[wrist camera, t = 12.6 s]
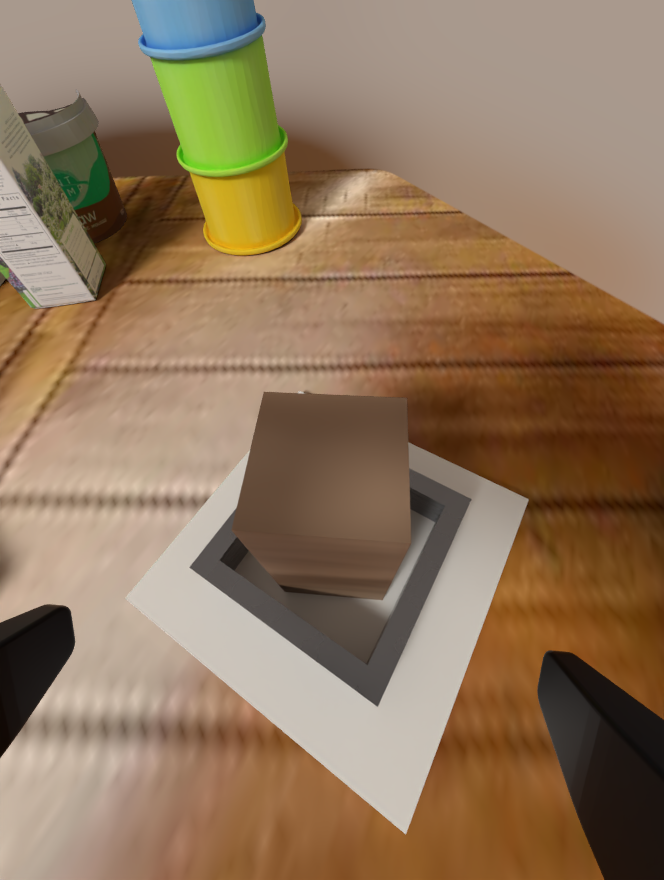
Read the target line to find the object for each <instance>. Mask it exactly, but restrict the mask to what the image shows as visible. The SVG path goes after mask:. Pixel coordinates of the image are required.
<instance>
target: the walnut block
mask: <svg viewBox="0 0 664 880" xmlns="http://www.w3.org/2000/svg"><path fill="white" fill-rule="evenodd" d="M231 530H232V532H233V533H234V534H235V535H236V536H237V537H238V538H239V540H240V541H241V542H242V543H243V544H244V545H245V547H246V548H247V549H248V550H249V551H250V552H251V553H252V555H253V556H254V557H255V558H256V559H257V560H258V562H259V563H260V564H261V565H262V566H263V567H264V568H265V570H266V571H267V572H268V573H269V574H270V575H271V577H272V578H273V579H274V580H275V581H276V582H277V583H278V585H279V586H280V587H281V588H282V589H283V590H284V592H292V593H304V594H315V595H327V596H339V597H350V598H362V599H374V600H383V598H384V596H385V594H386V592H387V590H388V588H389V586H390V584H391V582H392V580H393V579H394V577H395V575H396V573H397V571H398V569H399V567H400V565H401V563H402V561H403V559H404V557H405V555H406V553H407V551H408V549H409V547H410V545H411V517H410V483H409V448H408V414H407V398H398V397H374V396H350V395H326V394H302V393H278V392H264V394H263V398H262V402H261V406H260V411H259V415H258V419H257V423H256V428H255V432H254V436H253V440H252V445H251V449H250V453H249V457H248V462H247V466H246V470H245V474H244V479H243V483H242V487H241V491H240V496H239V500H238V504H237V508H236V512H235V517H234V521H233V525H232V529H231Z"/></svg>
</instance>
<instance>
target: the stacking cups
mask: <svg viewBox="0 0 664 880" xmlns="http://www.w3.org/2000/svg"><path fill="white" fill-rule="evenodd" d="M132 3H133V6H134V8H135V11H136V14H137V17H138V20H139V23H140V26H141V29H142V32H143V35H142V36H141V37H140V38H139V42H138V44H139V46H140V49H141V51H142V52H143V53H144V54H146V55H147V56H149V57H150V58H151V61H152V63H153V67H154V70H155V73H156V76H157V78H158V81H159V84H160V87H161V90H162V93H163V96H164V98H165V101H166V104H167V107H168V110H169V113H170V116H171V118H172V121H173V124H174V127H175V130H176V133H177V136H178V138H179V141H180V146H179V148H178V150H177V159H178V161H179V163H180V165H181V166H182V167H183V168H184V169H185V170H187V171H189V172H190V175H191V178H192V181H193V184H194V187H195V190H196V193H197V196H198V199H199V201H200V204H201V207H202V210H203V213H204V216H205V219H206V222H205V224H204V228H203V234H204V237H205V239H206V241H207V242H208V244H209V245H210V246H211V247H213V248H214V249H216V250H218V251H220V252H223V253H226V254H231V255H254V254H260V253H264V252H268V251H271V250H273V249H276V248H278V247H280V246H282V245H284V244H285V243H287V242H288V241H289V240H291V239H292V238H293V237H294V236H295V235H296V233H297V232H298V230H299V229H300V226H301V221H302V218H301V213H300V211H299V209H298V208H297V207H296V205H295V204H293V203H292V197H291V191H290V185H289V179H288V172H287V166H286V160H285V154H284V151H285V149H286V147H287V143H288V137H287V134H286V132H285V131H284V129H283V128H281V127H280V126H279V125H278V124H277V118H276V113H275V107H274V101H273V95H272V90H271V84H270V78H269V72H268V66H267V60H266V55H265V49H264V43H263V37H262V34H263V32H264V30H265V27H266V25H265V19H264V17H263V16H262V15H260V14H258V13H256V11H255V6H254V1H253V0H132Z"/></svg>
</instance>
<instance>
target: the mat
mask: <svg viewBox="0 0 664 880" xmlns="http://www.w3.org/2000/svg"><path fill="white" fill-rule="evenodd" d="M298 393H302V394H305V393H303V392H301V391H299V392H298ZM408 448H409V468H410V469H412V470H414V471H416V472H418V473H420V474H422V475H424V476H426V477H428V478H430V479H432V480H434V481H436V482H438V483H440V484H442V485H444V486H446V487H448V488H450V489H452V490H454V491H456V492H458V493H460V494H462V495H464V496H466V497H468V498H470V499H472V500H471V502H470V504H469V506H468V508H467V511H466V513H465V515H464V517H463V520H462V522H461V524H460V526H459V528H458V531H457V533H456V535H455V537H454V539H453V542H452V544H451V546H450V548H449V551H448V553H447V555H446V557H445V559H444V562H443V564H442V566H441V568H440V570H439V573H438V575H437V577H436V579H435V582H434V584H433V586H432V588H431V590H430V593H429V595H428V597H427V599H426V601H425V604H424V606H423V608H422V610H421V612H420V615H419V617H418V619H417V621H416V624H415V626H414V628H413V630H412V632H411V635H410V637H409V639H408V641H407V643H406V646H405V648H404V650H403V652H402V655H401V657H400V659H399V661H398V663H397V666H396V668H395V670H394V672H393V674H392V677H391V679H390V681H389V683H388V686H387V688H386V690H385V692H384V694H383V697H382V699H381V701H380V703H379V705H378V707H377V706H376V705H374V704H373V703H372V702H370V701H369V700H368V699H366V698H365V697H363V696H362V695H361V694H359V693H358V692H357V691H355V690H354V689H353V688H351V687H350V686H349V685H347V684H346V683H345V682H343V681H342V680H341V679H339V678H338V677H336V676H335V675H334V674H332V673H331V672H330V671H328V670H327V669H326V668H324V667H323V666H322V665H320V664H319V663H318V662H316V661H315V660H314V659H312V658H311V657H309V656H308V655H307V654H305V653H304V652H303V651H301V650H300V649H299V648H297V647H296V646H295V645H293V644H292V643H291V642H289V641H288V640H286V639H285V638H284V637H282V636H281V635H280V634H278V633H277V632H276V631H274V630H273V629H272V628H270V627H269V626H268V625H266V624H265V623H264V622H262V621H261V620H259V619H258V618H257V617H255V616H254V615H253V614H251V613H250V612H249V611H247V610H246V609H245V608H243V607H242V606H241V605H239V604H238V603H237V602H235V601H234V600H232V599H231V598H230V597H228V596H227V595H226V594H224V593H223V592H222V591H220V590H219V589H218V588H216V587H215V586H214V585H212V584H211V583H210V582H208V581H207V580H205V579H204V578H203V577H201V576H200V575H199V574H197V573H196V572H195V571H193V570H192V569H191V568H189V567H190V566H191V565H192V563H193V562H194V561H195V560H196V558H197V557H198V556H199V554H200V553H201V552H202V551H203V549H204V548H205V547H206V546H207V544H208V543H209V542H210V541H211V539H212V538H213V537H214V535H215V534H216V533H217V532H218V530H219V529H220V528H221V527H222V525H223V524H224V523H225V522H226V520H227V519H228V518H229V516H230V515H231V514H232V513H233V511H234V510H235V509H236V508H237V504H238V500H239V496H240V491H241V487H242V483H243V479H244V474H245V470H246V466H247V462H248V457H249V453H250V450H249V451H248V453H247V454H246V455H245V456H244V457H243V459H242V460H241V461H240V462H239V463H238V465H237V466H236V467H235V468H234V469H233V470H232V472H231V473H230V474H229V475H228V476H227V478H226V479H225V480H224V481H223V482H222V484H221V485H220V486H219V487H218V488H217V490H216V491H215V492H214V493H213V494H212V495H211V497H210V498H209V499H208V500H207V501H206V503H205V504H204V505H203V506H202V507H201V509H200V510H199V511H198V512H197V513H196V514H195V516H194V517H193V518H192V519H191V520H190V522H189V523H188V524H187V525H186V526H185V528H184V529H183V530H182V531H181V532H180V534H179V535H178V536H177V537H176V538H175V539H174V541H173V542H172V543H171V544H170V545H169V547H168V548H167V549H166V550H165V551H164V553H163V554H162V555H161V556H160V557H159V558H158V560H157V561H156V562H155V563H154V564H153V566H152V567H151V568H150V569H149V570H148V572H147V573H146V574H145V575H144V576H143V578H142V579H141V580H140V581H139V582H138V583H137V585H136V586H135V587H134V588H133V589H132V591H131V592H130V593H129V594H128V595H127V597H126V598H125V599H126V600H127V601H128V602H130V603H131V604H132V605H133V606H134V607H136V608H137V609H138V610H139V611H140V612H142V613H143V614H144V615H145V616H146V617H147V618H149V619H150V620H151V621H152V622H153V623H155V624H156V625H157V626H158V627H159V628H161V629H162V630H163V631H164V632H165V633H167V634H168V635H169V636H170V637H171V638H172V639H174V640H175V641H176V642H177V643H178V644H180V645H181V646H182V647H183V648H184V649H186V650H187V651H188V652H189V653H190V654H192V655H193V656H194V657H195V658H196V659H197V660H199V661H200V662H201V663H202V664H203V665H205V666H206V667H207V668H208V669H209V670H211V671H212V672H213V673H214V674H215V675H217V676H218V677H219V678H220V679H221V680H223V681H224V682H225V683H226V684H227V685H228V686H230V687H231V688H232V689H233V690H234V691H236V692H237V693H238V694H239V695H240V696H242V697H243V698H244V699H245V700H246V701H248V702H249V703H250V704H251V705H252V706H253V707H255V708H256V709H257V710H258V711H259V712H261V713H262V714H263V715H264V716H265V717H267V718H268V719H269V720H270V721H271V722H273V723H274V724H275V725H276V726H277V727H278V728H280V729H281V730H282V731H283V732H284V733H286V734H287V735H288V736H289V737H290V738H292V739H293V740H294V741H295V742H296V743H298V744H299V745H300V746H301V747H302V748H303V749H305V750H306V751H307V752H308V753H309V754H311V755H312V756H313V757H314V758H315V759H317V760H318V761H319V762H320V763H321V764H323V765H324V766H325V767H326V768H327V769H328V770H330V771H331V772H332V773H333V774H334V775H336V776H337V777H338V778H339V779H340V780H342V781H343V782H344V783H345V784H346V785H348V786H349V787H350V788H351V789H352V790H353V791H355V792H356V793H357V794H358V795H359V796H361V797H362V798H363V799H364V800H365V801H367V802H368V803H369V804H370V805H371V806H373V807H374V808H375V809H376V810H377V811H378V812H380V813H381V814H382V815H383V816H384V817H386V818H387V819H388V820H389V821H390V822H392V823H393V824H394V825H395V826H396V827H398V828H399V829H400V830H401V831H402V832H403V833H405V834H406V833H407V830H408V827H409V824H410V822H411V819H412V816H413V813H414V811H415V808H416V805H417V803H418V800H419V797H420V794H421V792H422V789H423V786H424V784H425V781H426V778H427V775H428V773H429V770H430V767H431V764H432V762H433V759H434V756H435V754H436V751H437V748H438V745H439V743H440V740H441V737H442V734H443V732H444V729H445V726H446V724H447V721H448V718H449V715H450V713H451V710H452V707H453V705H454V702H455V699H456V696H457V694H458V691H459V688H460V685H461V683H462V680H463V677H464V675H465V672H466V669H467V666H468V664H469V661H470V658H471V656H472V653H473V650H474V647H475V645H476V642H477V639H478V636H479V634H480V631H481V628H482V626H483V623H484V620H485V617H486V615H487V612H488V609H489V607H490V604H491V601H492V598H493V596H494V593H495V590H496V587H497V585H498V582H499V579H500V577H501V574H502V571H503V568H504V566H505V563H506V560H507V558H508V555H509V552H510V549H511V547H512V544H513V541H514V538H515V536H516V533H517V530H518V528H519V525H520V522H521V519H522V517H523V514H524V511H525V509H526V506H527V503H528V500H529V499H527V498H525V497H523V496H521V495H519V494H517V493H514V492H512V491H510V490H508V489H506V488H504V487H502V486H500V485H498V484H495V483H493V482H491V481H489V480H487V479H485V478H483V477H481V476H479V475H476V474H474V473H472V472H470V471H468V470H466V469H464V468H462V467H460V466H457V465H455V464H453V463H451V462H449V461H447V460H445V459H443V458H441V457H438V456H436V455H434V454H432V453H430V452H428V451H426V450H424V449H422V448H419V447H417V446H415V445H413V444H411V443H409V442H408ZM410 517H411V545H410V547H409V549H408V551H407V553H406V555H405V557H404V559H403V561H402V563H401V565H400V567H399V569H398V571H397V573H396V575H395V577H394V579H393V580H392V582H391V584H390V586H389V588H388V590H387V592H386V594H385V596H384V598H383V600H374V599H362V598H350V597H339V596H327V595H315V594H304V593H292V592H284V590H283V589H282V588H281V587H280V586H279V585H278V583H277V582H276V581H275V580H274V579H273V578H272V577H271V575H270V574H269V573H268V572H267V571H266V570H265V568H264V567H263V566H262V565H261V564H260V563H259V562H258V560H257V559H256V558H255V557H254V556H253V555H252V553H251V552H250V551H248V553H247V554H246V555H245V557H244V558H243V559H242V561H241V562H240V564H239V565H238V566H237V568H236V569H235V570H234V571H235V572H237V573H238V574H240V575H241V576H242V577H244V578H245V579H247V580H248V581H249V582H251V583H252V584H254V585H255V586H256V587H258V588H259V589H261V590H262V591H264V592H265V593H266V594H268V595H269V596H271V597H272V598H273V599H275V600H276V601H278V602H279V603H281V604H282V605H283V606H285V607H286V608H288V609H289V610H290V611H292V612H293V613H295V614H296V615H297V616H299V617H300V618H302V619H303V620H305V621H306V622H307V623H309V624H310V625H312V626H313V627H314V628H316V629H317V630H319V631H320V632H322V633H323V634H324V635H326V636H327V637H329V638H330V639H331V640H333V641H334V642H336V643H337V644H338V645H340V646H341V647H343V648H344V649H346V650H347V651H348V652H350V653H351V654H353V655H354V656H355V657H357V658H358V659H360V660H361V661H363V662H364V663H365V664H366V663H367V661H368V659H369V657H370V655H371V653H372V650H373V648H374V646H375V644H376V642H377V640H378V638H379V636H380V634H381V632H382V630H383V628H384V626H385V624H386V622H387V620H388V618H389V616H390V614H391V612H392V610H393V608H394V605H395V603H396V601H397V599H398V597H399V595H400V593H401V591H402V589H403V587H404V585H405V583H406V581H407V579H408V577H409V575H410V573H411V571H412V569H413V567H414V565H415V563H416V561H417V558H418V556H419V554H420V552H421V550H422V548H423V546H424V544H425V542H426V540H427V538H428V536H429V534H430V532H431V530H432V528H433V526H434V524H435V522H434V521H432V520H430V519H428V518H426V517H424V516H422V515H421V514H419V513H417V512H415V511H413V510H411V509H410Z"/></svg>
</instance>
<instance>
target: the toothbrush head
mask: <svg viewBox="0 0 664 880" xmlns="http://www.w3.org/2000/svg"><path fill="white" fill-rule="evenodd" d="M5 279H6V278H5V276H4V275H3V274H2V273H1V272H0V286H1V284H2V283H3V282H4V280H5Z"/></svg>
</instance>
